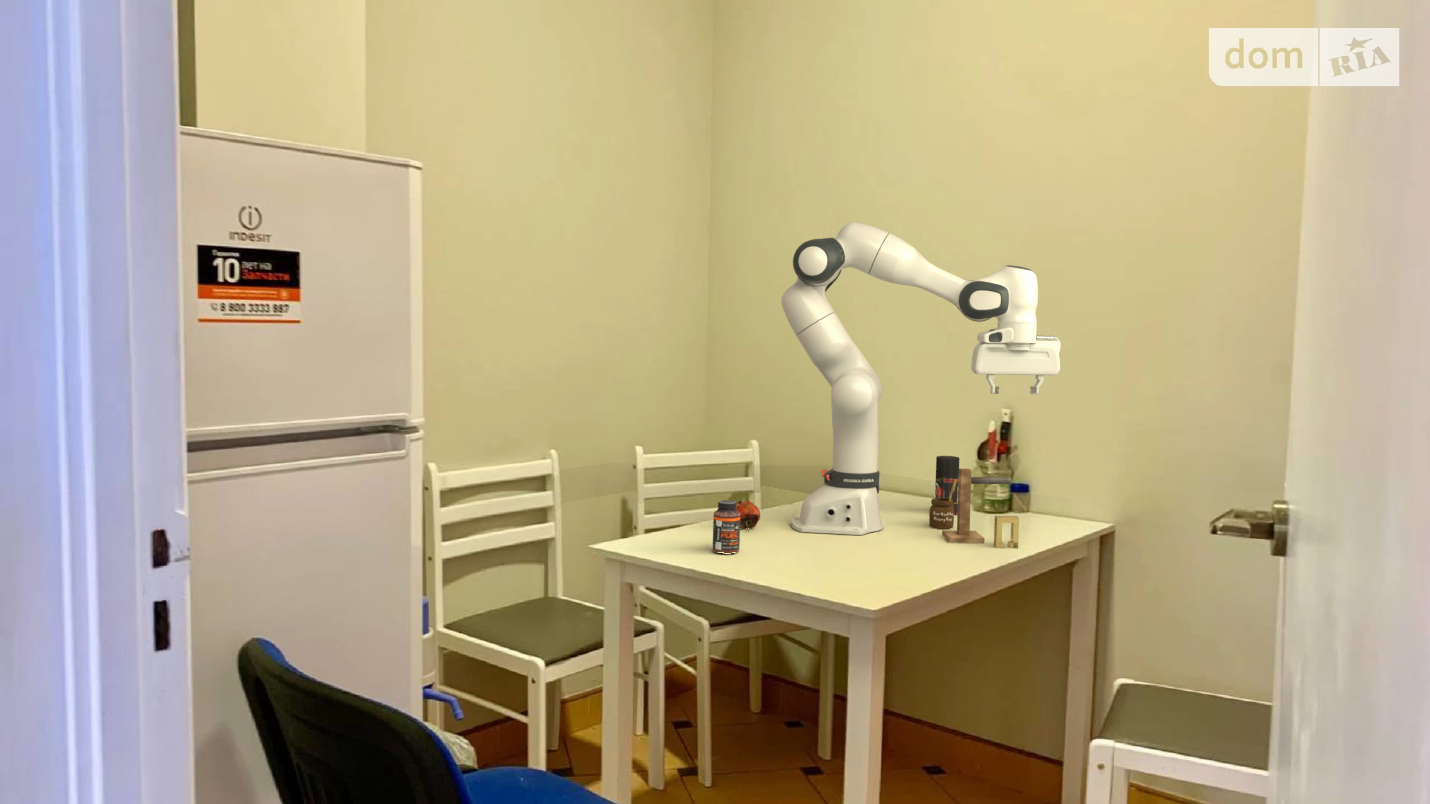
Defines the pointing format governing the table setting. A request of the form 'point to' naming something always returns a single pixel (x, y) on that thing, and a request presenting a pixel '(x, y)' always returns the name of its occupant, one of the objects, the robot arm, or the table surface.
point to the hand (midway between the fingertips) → (1014, 394)
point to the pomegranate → (748, 514)
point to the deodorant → (947, 478)
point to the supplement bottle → (726, 527)
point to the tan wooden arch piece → (998, 531)
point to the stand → (968, 507)
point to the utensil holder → (942, 511)
